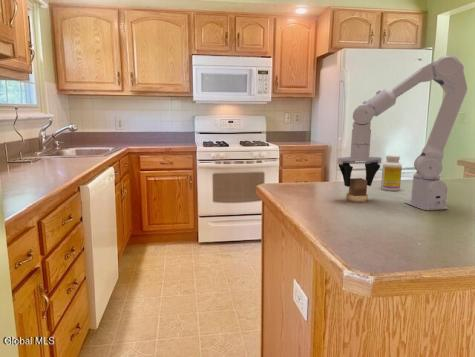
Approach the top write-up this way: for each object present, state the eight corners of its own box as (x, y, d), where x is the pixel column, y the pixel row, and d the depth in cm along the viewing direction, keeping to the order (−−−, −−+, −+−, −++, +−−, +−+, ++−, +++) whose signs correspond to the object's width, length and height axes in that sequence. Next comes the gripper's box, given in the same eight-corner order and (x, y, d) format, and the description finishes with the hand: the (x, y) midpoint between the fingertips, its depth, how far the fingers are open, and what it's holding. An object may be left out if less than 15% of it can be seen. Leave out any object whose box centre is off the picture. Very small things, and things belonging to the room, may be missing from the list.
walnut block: (366, 195, 114) (367, 180, 113) (354, 196, 113) (355, 180, 112) (359, 193, 118) (360, 178, 117) (348, 193, 117) (349, 178, 116)
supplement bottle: (402, 191, 130) (406, 156, 128) (384, 191, 130) (387, 156, 128) (395, 187, 137) (398, 154, 135) (378, 187, 137) (380, 154, 135)
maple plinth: (371, 202, 113) (371, 196, 113) (352, 203, 112) (353, 197, 112) (360, 197, 120) (360, 191, 119) (342, 198, 118) (343, 192, 118)
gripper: (373, 142, 118) (370, 182, 120) (333, 143, 115) (331, 184, 117) (386, 144, 111) (383, 186, 113) (344, 145, 108) (341, 188, 111)
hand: (357, 185), depth 115 cm, fingers open, 7 cm apart
